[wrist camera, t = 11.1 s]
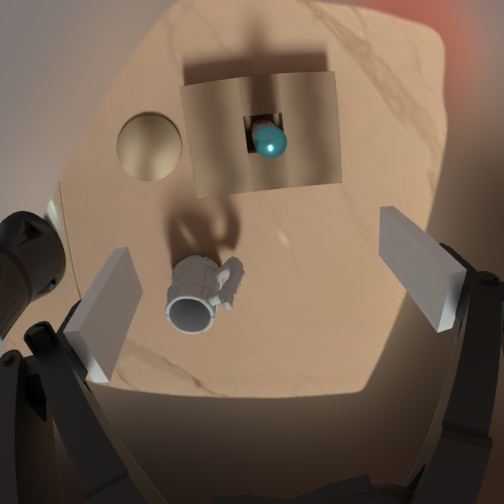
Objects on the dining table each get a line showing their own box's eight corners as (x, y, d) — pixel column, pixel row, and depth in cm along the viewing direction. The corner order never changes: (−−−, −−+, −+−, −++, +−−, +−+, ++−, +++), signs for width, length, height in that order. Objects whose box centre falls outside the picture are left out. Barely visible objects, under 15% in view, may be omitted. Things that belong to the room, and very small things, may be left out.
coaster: (125, 185, 41) (124, 186, 41) (112, 123, 37) (111, 123, 37) (187, 174, 41) (186, 175, 41) (176, 108, 37) (175, 108, 36)
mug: (163, 268, 47) (143, 318, 37) (228, 229, 45) (223, 273, 34) (193, 303, 50) (182, 356, 40) (256, 269, 48) (260, 320, 37)
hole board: (201, 190, 42) (197, 198, 39) (184, 87, 36) (179, 86, 32) (334, 175, 41) (341, 182, 38) (327, 73, 35) (334, 71, 32)
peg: (252, 143, 39) (256, 160, 29) (249, 120, 38) (252, 128, 27) (275, 140, 39) (288, 156, 28) (273, 117, 38) (285, 125, 27)
